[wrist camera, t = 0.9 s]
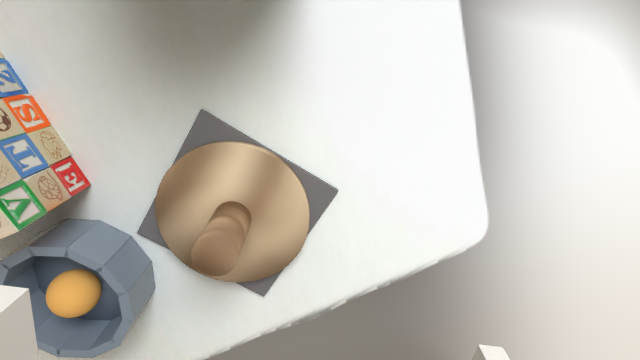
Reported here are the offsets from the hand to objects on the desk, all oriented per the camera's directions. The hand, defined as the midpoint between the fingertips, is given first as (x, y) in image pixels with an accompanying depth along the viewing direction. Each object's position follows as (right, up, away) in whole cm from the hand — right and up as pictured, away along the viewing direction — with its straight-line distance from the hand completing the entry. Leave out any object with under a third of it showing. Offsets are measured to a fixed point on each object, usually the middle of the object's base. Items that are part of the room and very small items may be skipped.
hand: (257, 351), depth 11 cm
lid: (-6, +2, +24) cm, 25 cm away
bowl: (-21, -4, +27) cm, 34 cm away
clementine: (-21, -5, +26) cm, 34 cm away
